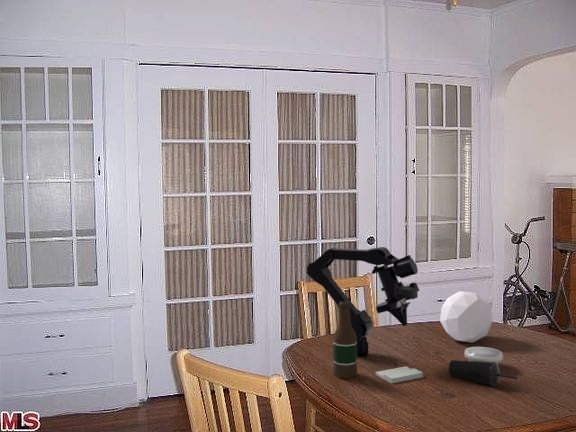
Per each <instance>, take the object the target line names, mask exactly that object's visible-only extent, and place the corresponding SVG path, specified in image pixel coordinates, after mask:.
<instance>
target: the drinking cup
mask: <svg viewBox="0 0 576 432" xmlns="http://www.w3.org/2000/svg"><path fill="white" fill-rule="evenodd" d="M448 365H449V366H448V373H449V375H450V376H452V377H455V378H459V379H463V380H466V381H469V382H470V381H471V382H474V383H479V384H482V385H485V386H490V387H491V388H494V387H496V386H497V384H498V383H499V381H500V378H506V379H513V380H517V379H518V377H517V376H513V375H507V374H501V372H500V371H501V370H500V368H499V363H498V364H497V362H476V361H469V360H459V359H452V360H451V359H450V361H449V364H448Z"/></svg>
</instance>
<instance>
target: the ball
mask: <svg viewBox="0 0 576 432" xmlns="http://www.w3.org/2000/svg"><path fill="white" fill-rule="evenodd" d="M493 320H494V318H493V311H492V309H491V307H490V303H488V302H487V301H486V300H485V299H484V298H482V297H481V296H480V295H479V294H478V293H477V292H471V291H462V290H460V291H457V292H456V293H453V295H450V296H448V297H447V298H446V299H445V301H444V303H443V304H442V306H441V310H440V320H439V321H440V323H441V325H442V327H443V329H444V331H445V332H446V333H447V335H449V336H450V337H452V338H453V339H454V340H455V341H460V342H466V343H475V342H477V341H478V340H480V339H482V338H484V337H486V336H487V335H488V333H489V331H490V329H491V326H492V323H493Z"/></svg>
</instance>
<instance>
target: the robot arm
mask: <svg viewBox="0 0 576 432" xmlns="http://www.w3.org/2000/svg"><path fill="white" fill-rule="evenodd" d="M335 260H336V261H337V260H338V261H339V260H340V261H355V262H360V261H361V262H365V263H366V264H368V265H369V264H370V265H373V269H372V271H371V274H372V275H375V274H377V275H378V278H379V280H380V282H381V285H382V287H381V288H380V291H381V292H384V294H385V297H386V299H385V300H384V301H383V302H381V303H378V304H377V305H376V307H375V309H376V313H377V314H382V313H384V312H389V314H391V315H392V316H393V317H394V318H395V319H396V320H397V321H398V322H399V323H400V324H401V325H402V326H403V327H406V326H408V307H409V305H410V304H411V301H409V300H414V299H417V298H418V296H419V295H418V292H419V291H420V288H419V286H418V284H417V282H411V283H409V284H408V285H404V284H403V282H402V281H399V279H398V278H400V279H405V278H408V277H411V276H414V275H418V265H417V263H416V262H415V261H414V259H413V258H412V257H411V255H410V254H409V255H405V256H403V257H401V258H397V256H395V255H394V254H392V253H391V252H390V250H389V249H388V248H387V247H385V246H381V247H379V246H378V247H374V248H367V249H357V248H355V249H353V248H336V247H331V248H330V247H329V248H328V249H326V250H325V251H324V252H323V253H322V255H320V256H319V257H318V258H317V259H315V260H314V261H313V262H310V263H309V264H308V265H307V267H306V271H305V272H306V275H307V276H308V277H309V278H310V279H312V280H313V281H314V282H315V283H316V284H318V285H320V286H322V288H323V289H324V290H325V291H326V292H327V294H328V295H329V297H330V298H331V300H333V301H334V303H335V304H336V305H337V307H338V308H339V309H340V306H339V303H340V302H341V301H348V302H350V320H351V326H352V328H353V329H354V331H355V333H356V337H357V358H360V357H361V358H363V357H364V358H366V357H367V358H368V357H369V341H368V340H367V339H368V338H367V337H366V336H368V334H369V333H370V332H371V331H372V330H373V327H374V322H373V321H372V319H373V318H372V317H371V316H370V315H369V314H368V312H367V311H366V309H362V310H359V309H358V308H357V307H356V306H355V304H353V302H352V301H351V299H349V297H348V296H347V295H346V294H345V292H344V290H342V288H341V287H340V286H339V285H338V283H337V282H336V281H335V279H333V276H332V272H331V270H330V266H331V265H332V264H333V262H334V261H335ZM390 265H391V266H390ZM407 301H409V302H407Z"/></svg>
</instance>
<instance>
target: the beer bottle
mask: <svg viewBox="0 0 576 432" xmlns="http://www.w3.org/2000/svg"><path fill="white" fill-rule="evenodd" d="M339 306H340V308H339V313H338V315H339V316H338V318H339V319H338V325H337V328H336V329H335V331H334V334H333V341H332V342H333V343H332V358H333V359H332V361H333V362H332V364H333V366H332V367H333V376H335V377H337V378H339V379H344V378H345V379H347V380H348V379H353V378H355V377H356V376H357V373H358V357H357V337H356V333H355V331H354V329H353V328H352V326H351V320H350V302H348V301H341V302H340V303H339ZM339 306H338V307H339ZM345 379H344V380H345Z"/></svg>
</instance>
